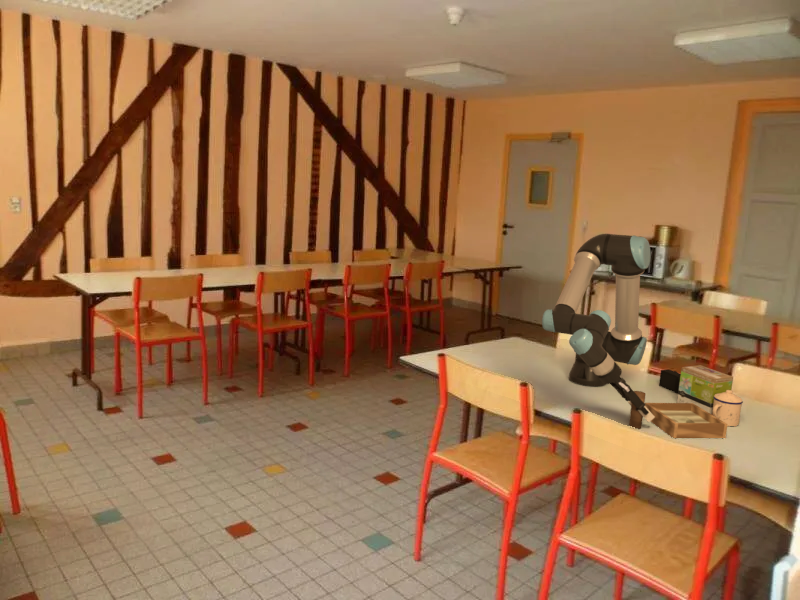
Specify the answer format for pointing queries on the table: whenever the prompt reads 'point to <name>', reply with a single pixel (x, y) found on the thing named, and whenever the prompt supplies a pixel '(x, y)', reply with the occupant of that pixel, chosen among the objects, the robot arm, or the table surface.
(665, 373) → the digital camera
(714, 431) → the oak box
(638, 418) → the walnut dowel
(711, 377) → the tea box
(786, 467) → the table surface
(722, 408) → the teacup with lid
